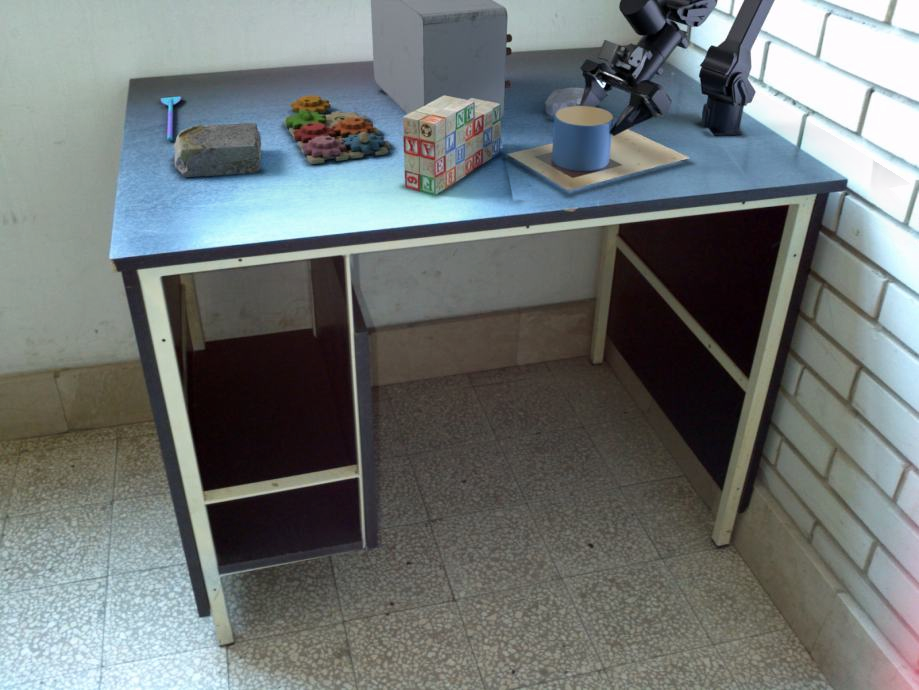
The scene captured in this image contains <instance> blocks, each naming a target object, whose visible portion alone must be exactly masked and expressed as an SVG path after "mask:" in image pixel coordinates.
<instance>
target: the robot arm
mask: <svg viewBox="0 0 919 690" xmlns="http://www.w3.org/2000/svg"><path fill="white" fill-rule="evenodd" d="M775 1H776V0H743V1H742V3H741V6H740V8H739V10H738V12H737V14H736V17H735V19H734V21H733V23H732V25H731V27H730V28H729V31H728V34H727V35H726V38H725V39H724V40H723V41H722V42H721V43H720V44H719V45H717V46H715V45H712V44H711V45H710V46H709V47H708V48H707V51H706V54H705V57H704V58H703V60H702V62H701V63H700V64H699V67H700V70H699V73H698V77H699V82H700V90H701V94H702V95H704V96H707V99H706V103H704V104H703V107H702V112H701V119H700V124H701V125H702V127H703V128H704V129H709V131H710V132H711V134H712V135H713V136H742V135H743V131H742V130H741V122H742V118H743V113H744V107H746V106H747V105H748V104H751V103H752V102H753V100H754V97H755V95H756V89H755V88H754V86H753V85H752V83H751V81H750V80H749V76H750V74H751V71H752V49H753V46H754V44H755V42H756V40H757V39H758V36H759V34H760V32H761V30H762V28H763V25H764V24H765V22H766V20H767V17H768V15H769V13H770V11H771V9H772V6H773V5H774V3H775ZM717 5H718V0H620V1H619V6H618V8H619V11H620V13H621V14H622V16H623V17H624V18H625V19H626V21H627V23H628V24H629V25H630V27H631V28H632V30H633V31H634V33H635V34H636V35H638V36H641V38H640V39H639V40H638V42H637V43H636V44H634V43H629V44H627V45H626V47H624V46H622V45H620V44H618V43H615V42H613V41H609V40H606V39H604V40H603V42H602V45H601V48H600V49H599V52H598V54H597V56H596V58H593V57H590V58H586V60H584V62H583V63H582V65H581V66H580V67H579V70H581V72H582V73H581V76H582V77H583V78H584V89H585V90H584V94H583V97H582V100H581V103H580V105H579V106H589V107H596V108H597V106H598V105H599V104H600V103H601V102H602V101H604V100H606V98H607V97H608V96H609V94H608V92H609V91H612V90H613V89H614V88H616V89H618V90H621V91H623V92H625V93H628V94H630V96H629V102H628V104H627V106H626V108H625V109H624V111H623V112H622V113H621V114H620V116H619V117H618V119H617V120H616V121H615V123H613V128H612V129H611V131H610V133H611V134H612V135H613V136H615V135H617V134H619V133H621V132H623V131H625V130H627V129H629V130H630V128H633V127H634V126H637V125H638V124H641V123H643V122H645V121H648V120H650V119H657V118H658V117H659V116H661V117H663V118H664V117H665V116H666V115H667V114H668V112H669V111H670V110H671V108H672V102H673V100H672V99H671V98H670V96H669V94H668V93H667V92H666V91H665V89H664V88H663V86H662V85H661V84H659V83H656V82H654V81H651V80H652V79H653V78H654V76H655V75H658V76H660V77H661V75H662V74H663V73H664V72H665V70H664V68H663V65H664V63H665V62H666V61H667V59H669V57H670V56H671V54H672V53H673V52H674V51H675V50H676V48H677V47H679V48H682V49H685V50H686V49H688V47H689V39H688V35H689V33H688V31H687V30H683V29H681V28H680V27H679V24H681V25H684V26H687V27H689V28H698V27H700V26H702V25H703V24H704V23H705V22H706V21H707V19H708V18H709V16H710V15H711V14H712V12H713V11H714V10H715V9H716V7H717ZM601 60H604V61H605V62H607V63H609V67H608V65H607V64H606V63H605V62H604V61H601ZM612 71H614V73H613V72H612Z"/></svg>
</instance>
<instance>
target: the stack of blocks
mask: <svg viewBox="0 0 919 690" xmlns="http://www.w3.org/2000/svg"><path fill="white" fill-rule="evenodd" d="M402 117H403V118H402V122H403V124H402V125H403V136H402V137H403V138H402V139H403V153H404V154H403V155H404V156H403V157H404V186H405V188H408V189H411V190H414V191H415V190H416V191H419V192H423V193H426V194H430V195H433V196H437V195H438V194H439V193H441V192H443V191H445V190H446V189H448V188H449V187H451V186H452V185H454V184H456V183H457V182H458V181H459V182H460V181H461V180H462V179H463V178H464V177H466V176H467V175H468V174H470V173H472V172H473V171H474V170H476V169H478V168H479V167H481V166H482V165H484V164H485V163H487V162H488V161H490V160H492V159H493V158H495V157H496V156H498V155H499V154H500V153H501V136H502V121H501V120H502V119H501V104H499V103H494V102H490V101H484V100H479V99H474V98H470V99H469V100H465V99H460V98H454V97H450V96H445V95H444V96H442V97H440V98H438V99H436V100H435V101H433V102H431V103H429V104H427V105H426V106H423V107H421V108H419V109H418V110H416V111H415V112H414V111H413V112H411V113H409V114H405V115H403V116H402Z"/></svg>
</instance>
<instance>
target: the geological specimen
mask: <svg viewBox="0 0 919 690" xmlns="http://www.w3.org/2000/svg"><path fill="white" fill-rule="evenodd" d="M261 137H262V136H261V133H260V131H259V129H258V124H257V122H241V123H227V124H226V123H225V124H217V125H213V124H209V125H207V126H205V125H203V124H197V125H193V126H188V127H187V128H185V129H183V130H181V131H180V132H179V133H178V134H177V136H176V139H175V142H174V144H173V149H174V163H173V164H174V167H175V169H176V170H178V171H179V173H181V175H182V176H183V178H191V177H192V178H193V177H211V176H212V177H213V176H228V175H242V174H243V175H245V174H256V173H259V172H260V168H261V160H262V154H261V153H262V138H261Z"/></svg>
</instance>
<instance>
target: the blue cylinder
mask: <svg viewBox="0 0 919 690" xmlns="http://www.w3.org/2000/svg"><path fill="white" fill-rule="evenodd" d="M614 119H615V117H614V115H613V113H611V112H610V111H608V110H606V109H604V108H600V107H597V106H596V107H589V106H572V107H566V108H562V109H560V110H558V111H557V112H556V113H555V116H554V121H553V133H552V134H553V135H552V143H553V147H552V161H553V163H554V164H556V165H557V166H559V167H562V168H565V169H568V170H574V171H594V170H599V169H602V168H604V167H606V166H607V165H608V163H609V157H610V148H611V138H612V134H611V133H610V131H611V129H612V128H613V126H614Z"/></svg>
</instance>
